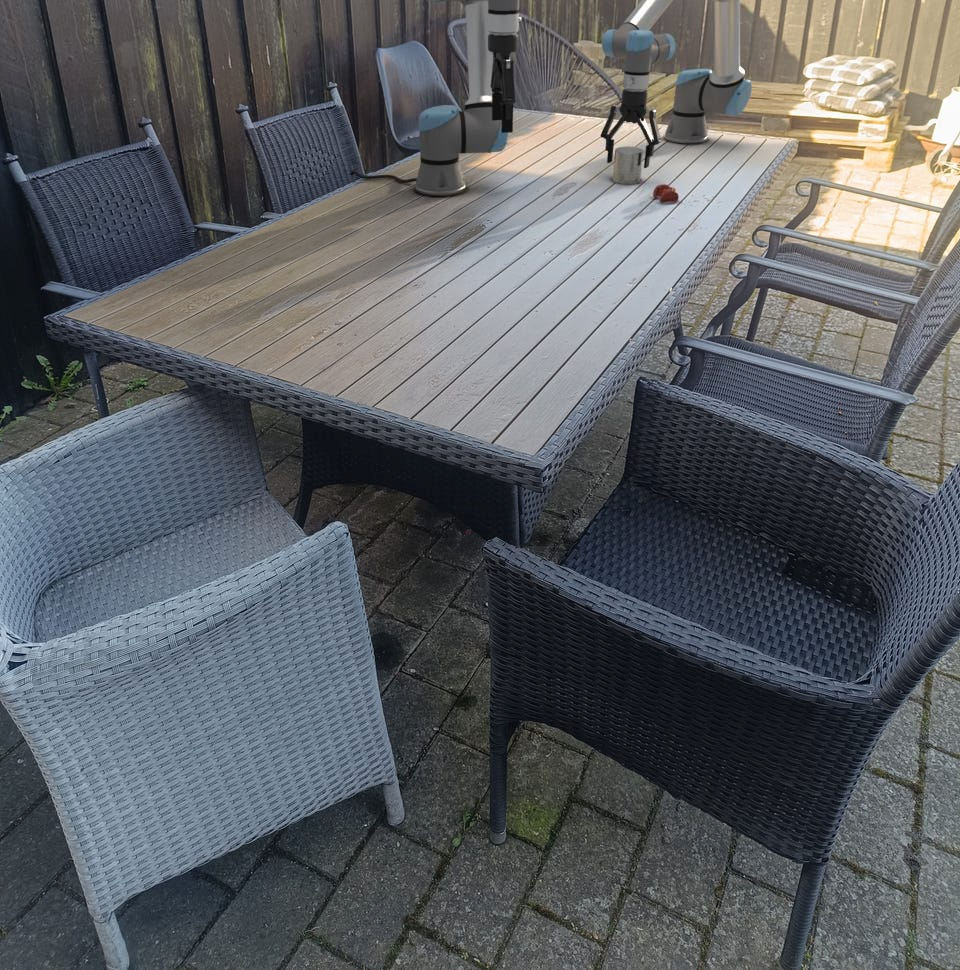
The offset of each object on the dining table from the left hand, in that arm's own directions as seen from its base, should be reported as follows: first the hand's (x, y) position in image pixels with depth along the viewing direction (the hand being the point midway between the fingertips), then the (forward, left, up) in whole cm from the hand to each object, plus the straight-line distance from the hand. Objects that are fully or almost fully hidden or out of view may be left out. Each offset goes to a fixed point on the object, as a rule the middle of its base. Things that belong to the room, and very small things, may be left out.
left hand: (502, 126), depth 216 cm
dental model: (+24, +49, -26) cm, 60 cm away
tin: (+4, +60, -26) cm, 65 cm away
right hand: (+4, +60, -21) cm, 63 cm away
